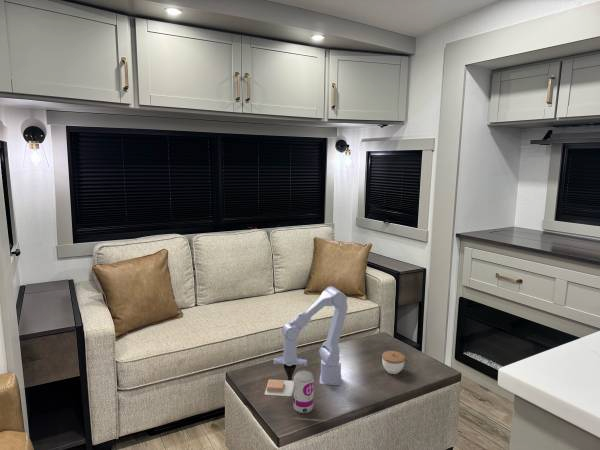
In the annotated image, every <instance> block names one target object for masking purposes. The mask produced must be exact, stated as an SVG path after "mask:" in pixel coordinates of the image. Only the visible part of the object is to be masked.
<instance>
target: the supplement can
mask: <svg viewBox="0 0 600 450" xmlns="http://www.w3.org/2000/svg"><path fill="white" fill-rule="evenodd" d="M314 378H315V377H314V375H313V373H312V372H311V371H310V370H304V369H302V370H299V371H296V372H295V373H294V376H293V381H294V387H293V395H292V398H293V402H292V404H293V410H294V411H296V412H298V413H301V414H306V413H309V412H311V411H312V410H313V409H314V398H315V397H314V394H315V393H314V389H315V387H314V385H315V383H314V382H315V379H314Z"/></svg>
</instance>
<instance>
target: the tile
mask: <svg viewBox="0 0 600 450" xmlns="http://www.w3.org/2000/svg"><path fill="white" fill-rule="evenodd" d="M282 380H283V379H282ZM282 380H281V379H270V380H269V379H268V381H269V382H268V381H267V384H268V385H266V387H267V391H283V388H284V381H282Z"/></svg>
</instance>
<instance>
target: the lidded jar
mask: <svg viewBox="0 0 600 450" xmlns="http://www.w3.org/2000/svg"><path fill="white" fill-rule="evenodd" d="M381 358H382V359H381V360H382V366H383V368H384V370H385V371H386V372H387V373H388V374H391V375H398V374H399V373H400V372H401V371H402V370H403V369H404V366H405V359H406V356H405V355H404V354H403V353H401V352H399V351H394V350H387V351H383V353H382V355H381Z"/></svg>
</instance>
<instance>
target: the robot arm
mask: <svg viewBox="0 0 600 450" xmlns="http://www.w3.org/2000/svg"><path fill="white" fill-rule="evenodd" d="M324 289H325V290H323V291H322V292H321V294H320V296H319V297H318V298H317V299H316V300H315V302H313V303H312V304H311V305H310V307H308V308H307V310H306V311H301V312H298V313H297V316H296V317H294V318H293V319H292V320H290V321H289V322H287V323H285V324H284V325H283V327H282V328H281V333H282V334H283V357H274V358H273V365H279V364H280V365H281V364H282V365H283V369H284V371H285V373H286V376H287V379H288V380H287V381H293V374H294V372H295V370H296V368H297V365H298V366H299V365H301V366H307V364H308V363H307V362H308V360H307V359H304V358H303V359H302V358H299V357H298V356H297V355H298V353H297V351H298V349H297V348H298V347H297V346H298V341H297V339H298V338H299V336H300V332H301V331H302V330H303V329H305V327H307V325H308V324H309V323H310V322H311V321H312V317H314V316H315V315H316V314H317V313H319V311H321V310H322V309H324V307H334V312H333V315H332V317H331V318H332V319H331V323H330V326H329V327H330V328H329V330H328V335H327V337H326V340H325V341H324V342H322V346H320V348H319V351H318V355H319V357H320V359H321V361H320V375H319V384H321V385H330V386H341V381H342V363H341V362H340V360H341V359H340V358H341V356H340V352H341V351H340V348H339V342H340V339H341V334H342V331H343V327H344V324H345V320H346V316H347V312H348V308H349V307H348V302H347V300H348V297H347V295H345V293H344V292H342V291H340V290H339V289H337V288H336V287H335V286H332V285H330V286H327V287H326V288H324Z"/></svg>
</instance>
